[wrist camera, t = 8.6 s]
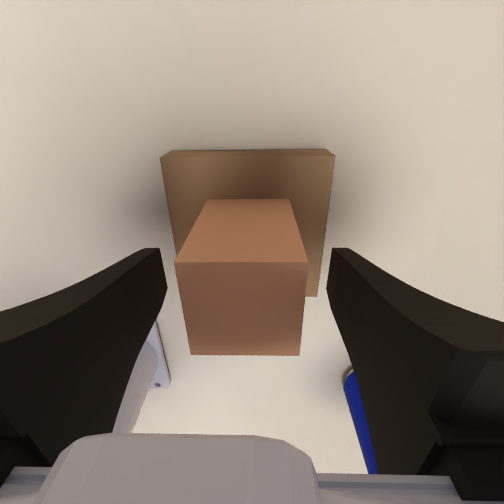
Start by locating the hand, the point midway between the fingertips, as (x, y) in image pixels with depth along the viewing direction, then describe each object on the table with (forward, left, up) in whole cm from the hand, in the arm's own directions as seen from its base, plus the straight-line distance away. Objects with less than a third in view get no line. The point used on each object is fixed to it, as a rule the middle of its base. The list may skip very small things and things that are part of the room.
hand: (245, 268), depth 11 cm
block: (0, 0, -3) cm, 3 cm away
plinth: (0, 0, -5) cm, 5 cm away
